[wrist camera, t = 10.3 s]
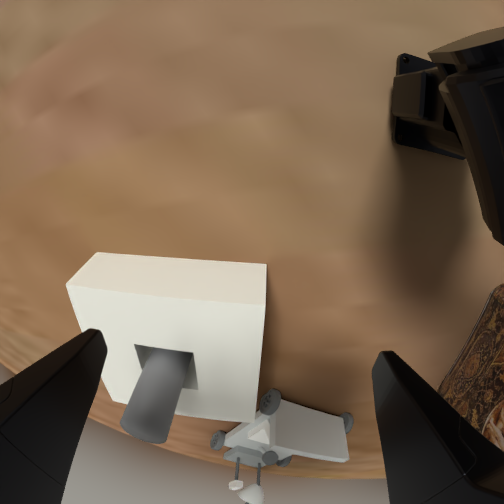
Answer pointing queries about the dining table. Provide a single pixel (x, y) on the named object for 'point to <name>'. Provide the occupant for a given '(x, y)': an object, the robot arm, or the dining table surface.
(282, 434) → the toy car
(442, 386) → the book
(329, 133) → the dining table surface
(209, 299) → the socket block
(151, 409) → the peg
